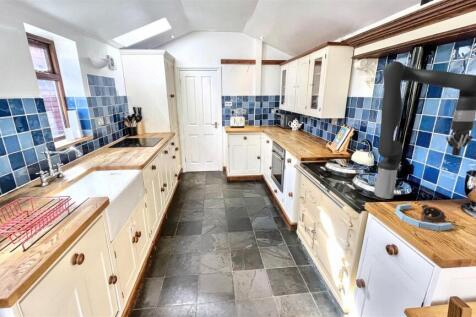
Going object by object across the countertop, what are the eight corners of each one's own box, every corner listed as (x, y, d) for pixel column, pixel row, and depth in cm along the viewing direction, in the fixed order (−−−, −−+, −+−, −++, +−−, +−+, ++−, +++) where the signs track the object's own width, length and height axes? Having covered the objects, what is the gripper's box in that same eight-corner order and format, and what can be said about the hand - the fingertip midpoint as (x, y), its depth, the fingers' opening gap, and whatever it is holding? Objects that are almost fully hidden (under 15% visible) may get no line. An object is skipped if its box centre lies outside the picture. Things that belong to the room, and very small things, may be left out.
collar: (407, 208, 119) (408, 203, 118) (451, 229, 98) (452, 223, 98) (384, 211, 116) (385, 206, 115) (424, 233, 96) (425, 227, 95)
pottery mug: (452, 227, 101) (451, 215, 97) (430, 234, 103) (427, 222, 100) (432, 209, 111) (430, 197, 108) (412, 216, 114) (409, 205, 110)
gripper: (465, 118, 111) (458, 152, 115) (443, 120, 109) (436, 154, 113) (484, 120, 104) (475, 156, 108) (460, 121, 102) (452, 158, 106)
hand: (455, 155), depth 111 cm, fingers closed
